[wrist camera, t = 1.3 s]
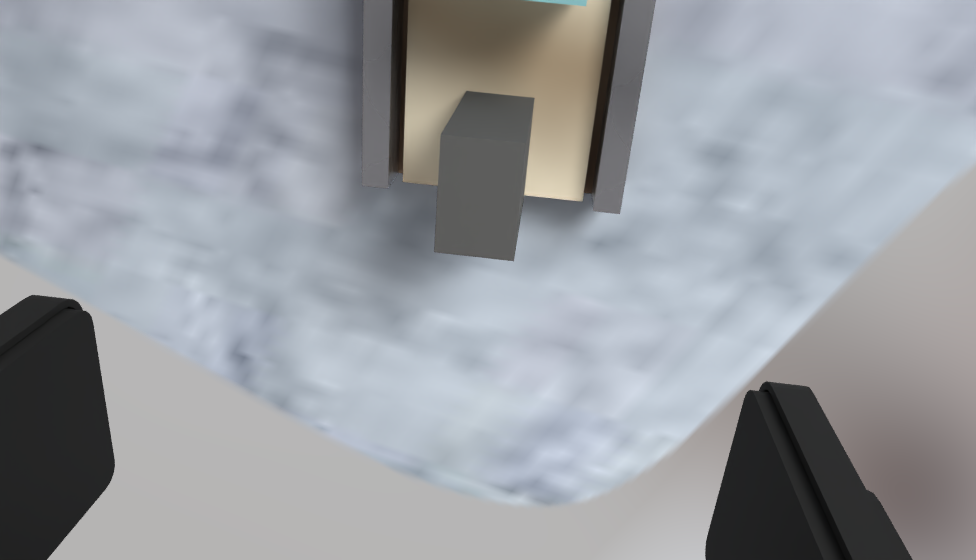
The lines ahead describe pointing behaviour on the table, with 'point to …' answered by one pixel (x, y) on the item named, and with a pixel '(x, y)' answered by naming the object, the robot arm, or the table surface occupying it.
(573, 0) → the cube
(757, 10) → the table surface
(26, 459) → the robot arm
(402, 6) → the board
